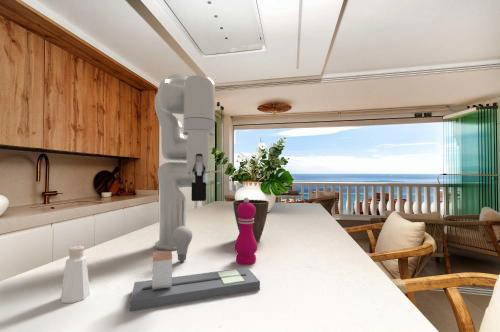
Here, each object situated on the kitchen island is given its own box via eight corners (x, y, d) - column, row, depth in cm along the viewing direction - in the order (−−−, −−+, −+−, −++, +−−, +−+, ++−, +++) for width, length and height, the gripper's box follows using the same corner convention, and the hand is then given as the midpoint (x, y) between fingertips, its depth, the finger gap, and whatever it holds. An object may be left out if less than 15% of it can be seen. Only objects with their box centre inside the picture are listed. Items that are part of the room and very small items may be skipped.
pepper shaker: (56, 305, 51) (57, 252, 51) (64, 294, 56) (65, 245, 56) (87, 300, 53) (88, 249, 54) (92, 289, 58) (93, 242, 59)
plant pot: (227, 237, 106) (228, 200, 107) (258, 234, 113) (258, 198, 113) (241, 246, 93) (241, 204, 93) (275, 242, 99) (275, 202, 100)
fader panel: (134, 290, 58) (134, 281, 58) (247, 274, 67) (247, 266, 67) (129, 311, 49) (130, 299, 49) (259, 289, 59) (259, 280, 59)
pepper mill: (255, 266, 73) (255, 199, 74) (231, 264, 75) (232, 198, 76) (259, 258, 81) (259, 196, 81) (237, 256, 82) (238, 196, 83)
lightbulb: (195, 259, 79) (196, 225, 79) (184, 266, 73) (185, 229, 73) (179, 257, 81) (179, 223, 81) (167, 263, 75) (168, 227, 75)
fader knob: (152, 281, 57) (153, 252, 57) (170, 279, 58) (171, 250, 58) (152, 289, 53) (152, 257, 53) (171, 286, 55) (172, 255, 55)
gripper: (184, 133, 68) (183, 196, 67) (181, 120, 51) (180, 203, 51) (212, 134, 70) (211, 195, 69) (217, 121, 53) (217, 202, 52)
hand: (198, 198), depth 60 cm, fingers open, 9 cm apart
